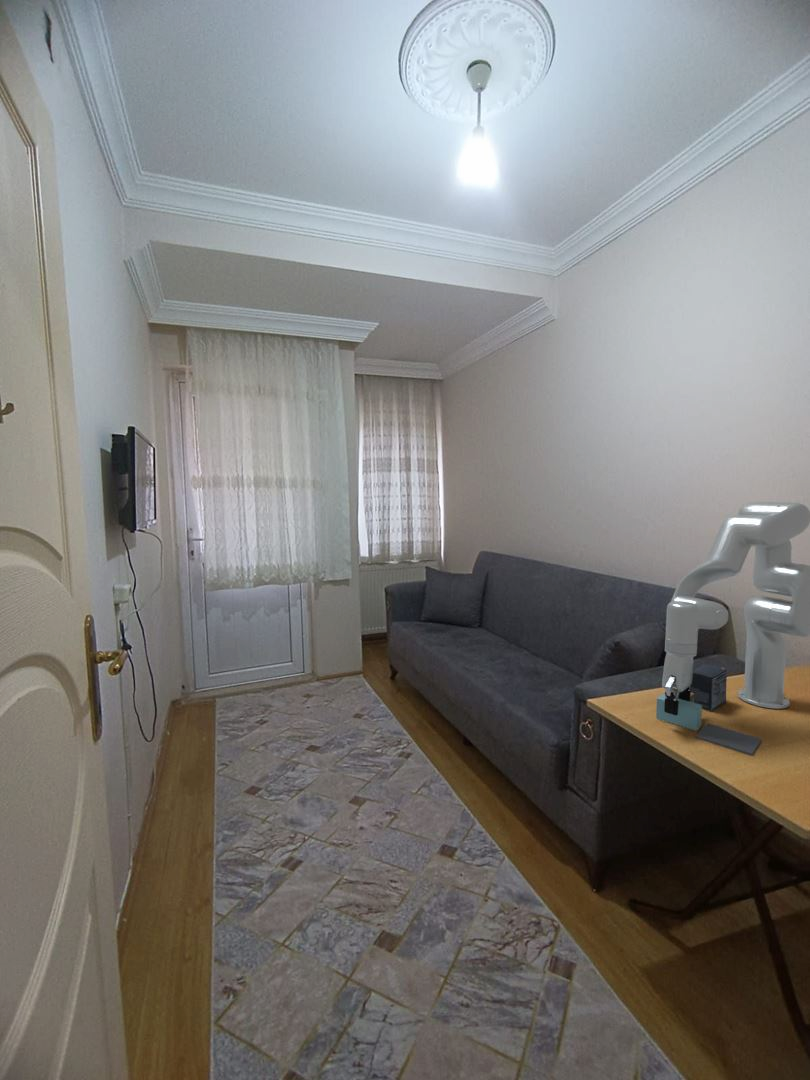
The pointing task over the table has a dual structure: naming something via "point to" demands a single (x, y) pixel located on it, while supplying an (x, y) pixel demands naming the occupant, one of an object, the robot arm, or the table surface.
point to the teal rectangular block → (681, 713)
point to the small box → (709, 686)
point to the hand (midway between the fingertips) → (677, 708)
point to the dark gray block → (729, 738)
